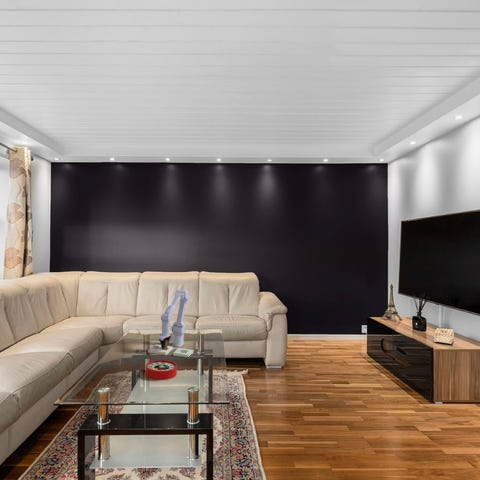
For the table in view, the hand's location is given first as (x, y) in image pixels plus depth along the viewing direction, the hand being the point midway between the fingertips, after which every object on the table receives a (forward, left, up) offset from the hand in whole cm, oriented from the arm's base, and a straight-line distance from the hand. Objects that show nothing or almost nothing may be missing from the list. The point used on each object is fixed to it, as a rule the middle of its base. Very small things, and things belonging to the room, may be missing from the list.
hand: (164, 346), depth 313 cm
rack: (0, +15, -3) cm, 15 cm away
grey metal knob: (0, -7, -3) cm, 8 cm away
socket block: (0, -3, -3) cm, 5 cm away
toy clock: (+41, +14, -4) cm, 44 cm away
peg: (0, 0, -3) cm, 3 cm away
